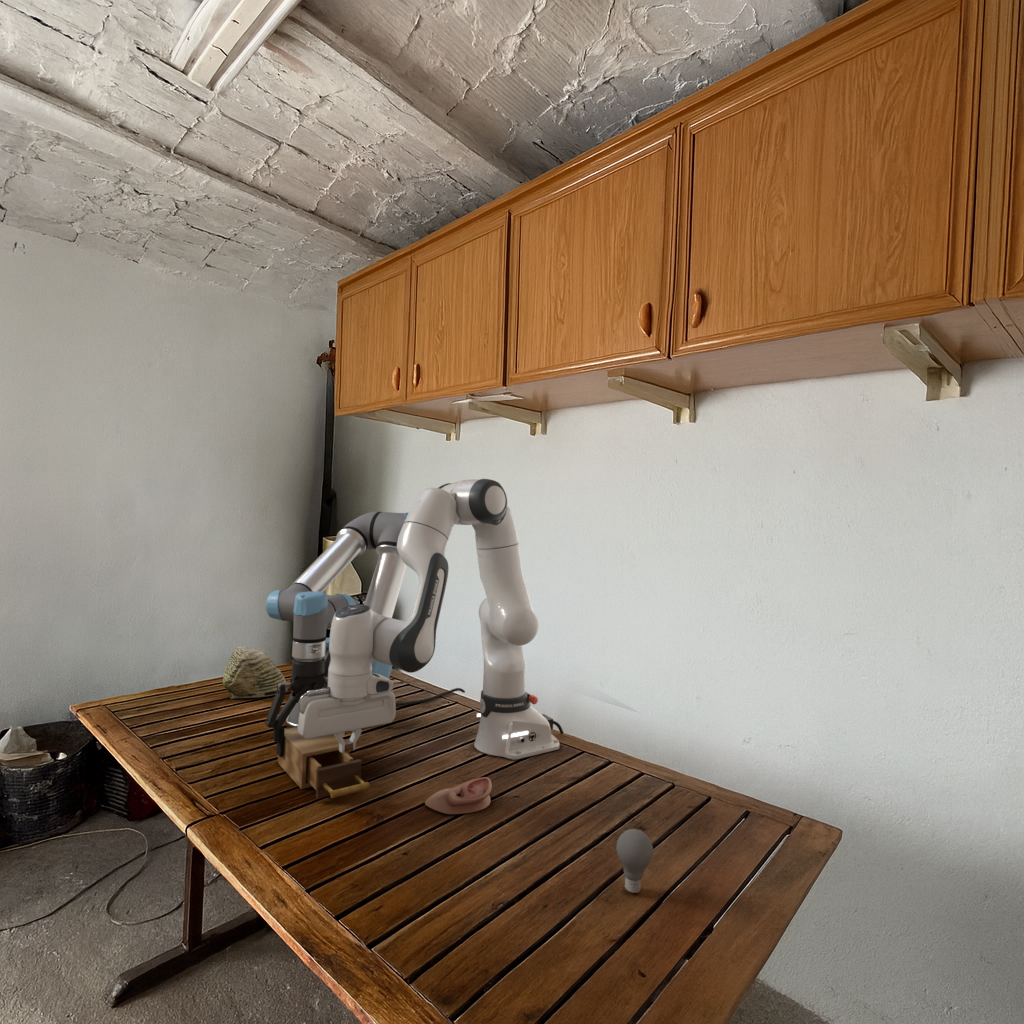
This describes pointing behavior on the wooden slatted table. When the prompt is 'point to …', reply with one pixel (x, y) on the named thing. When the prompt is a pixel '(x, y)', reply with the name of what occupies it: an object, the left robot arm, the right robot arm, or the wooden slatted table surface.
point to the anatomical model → (462, 797)
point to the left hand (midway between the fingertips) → (305, 749)
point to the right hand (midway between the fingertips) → (347, 750)
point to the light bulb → (634, 857)
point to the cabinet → (303, 753)
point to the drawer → (334, 774)
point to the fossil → (251, 674)
